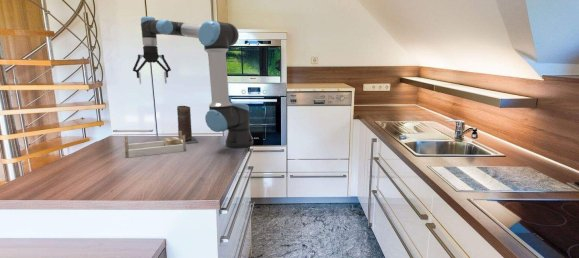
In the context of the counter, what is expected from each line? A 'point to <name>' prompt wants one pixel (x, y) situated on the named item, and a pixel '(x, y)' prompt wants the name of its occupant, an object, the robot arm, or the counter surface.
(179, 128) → the rusty brown cylinder
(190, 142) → the mat
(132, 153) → the rack
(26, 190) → the counter surface
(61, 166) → the counter surface
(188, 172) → the counter surface
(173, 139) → the offcut upper
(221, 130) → the robot arm
